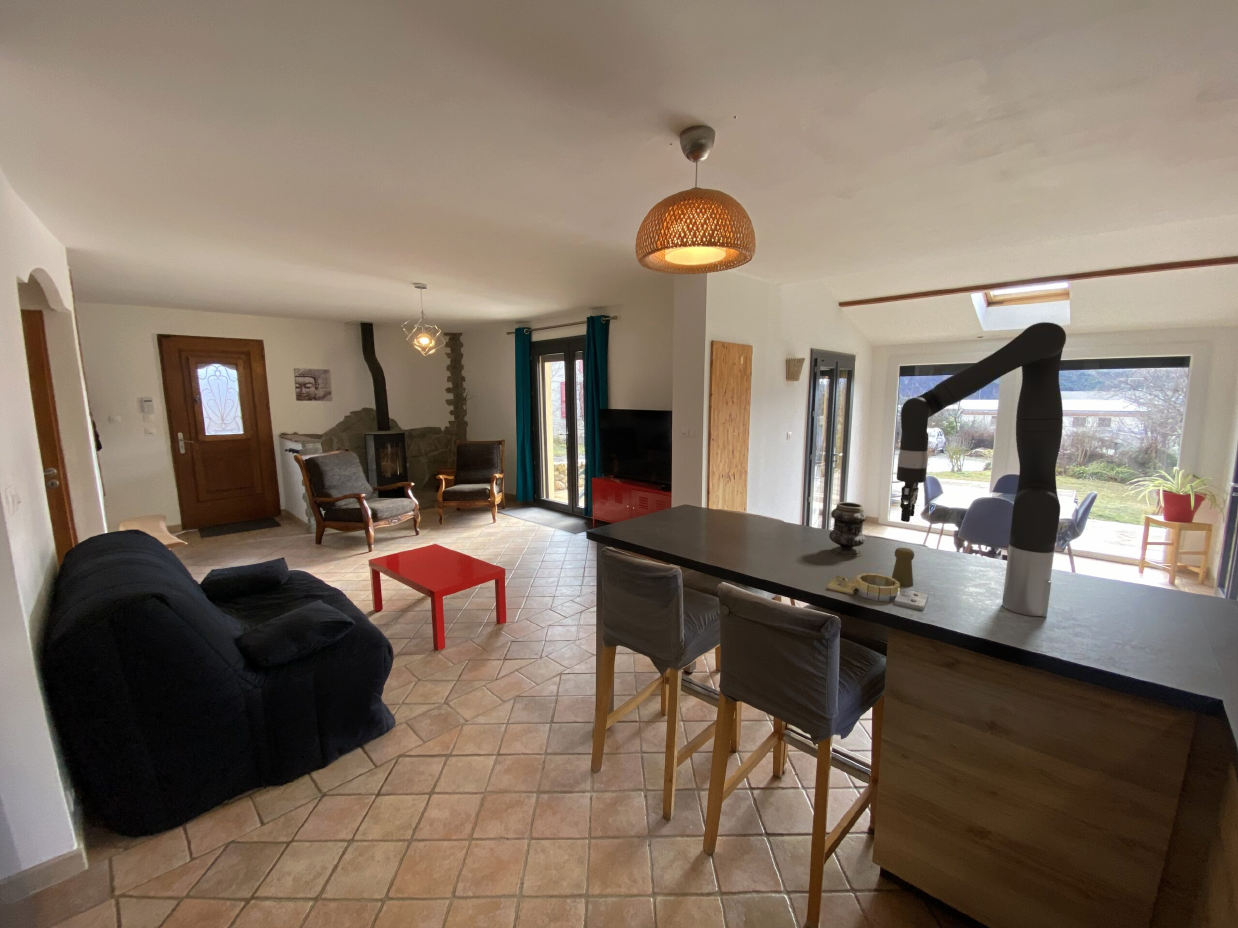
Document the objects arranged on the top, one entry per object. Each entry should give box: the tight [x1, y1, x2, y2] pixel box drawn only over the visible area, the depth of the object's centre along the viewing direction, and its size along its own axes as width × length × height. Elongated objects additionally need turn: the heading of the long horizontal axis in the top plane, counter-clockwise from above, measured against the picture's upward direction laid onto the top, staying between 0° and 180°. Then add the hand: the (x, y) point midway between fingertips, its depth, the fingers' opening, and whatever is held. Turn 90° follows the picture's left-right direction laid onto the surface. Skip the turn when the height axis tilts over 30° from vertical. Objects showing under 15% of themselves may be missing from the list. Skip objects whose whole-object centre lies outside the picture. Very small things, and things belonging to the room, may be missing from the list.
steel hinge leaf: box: [855, 581, 929, 612], centre depth 142 cm, size 18×11×2 cm, turn 52°
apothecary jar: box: [828, 501, 868, 557], centre depth 180 cm, size 12×12×18 cm
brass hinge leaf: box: [827, 572, 901, 596], centre depth 146 cm, size 18×11×4 cm, turn 52°
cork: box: [891, 547, 915, 588], centre depth 151 cm, size 6×6×11 cm
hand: (907, 518), depth 149 cm, fingers open, 8 cm apart
